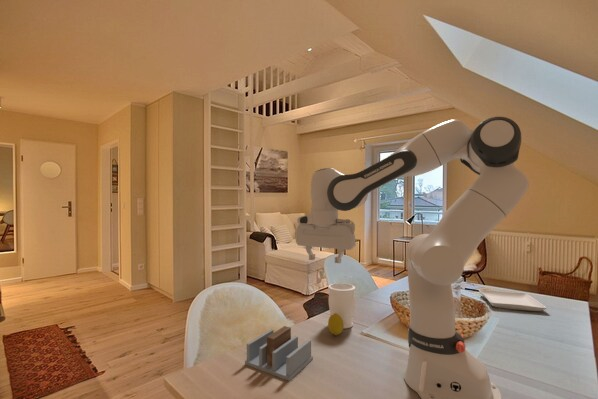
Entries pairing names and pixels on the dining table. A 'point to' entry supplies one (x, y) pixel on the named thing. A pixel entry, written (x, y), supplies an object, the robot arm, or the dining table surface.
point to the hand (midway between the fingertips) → (324, 261)
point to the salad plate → (512, 300)
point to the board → (277, 341)
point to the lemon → (335, 324)
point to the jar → (342, 302)
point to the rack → (279, 356)
